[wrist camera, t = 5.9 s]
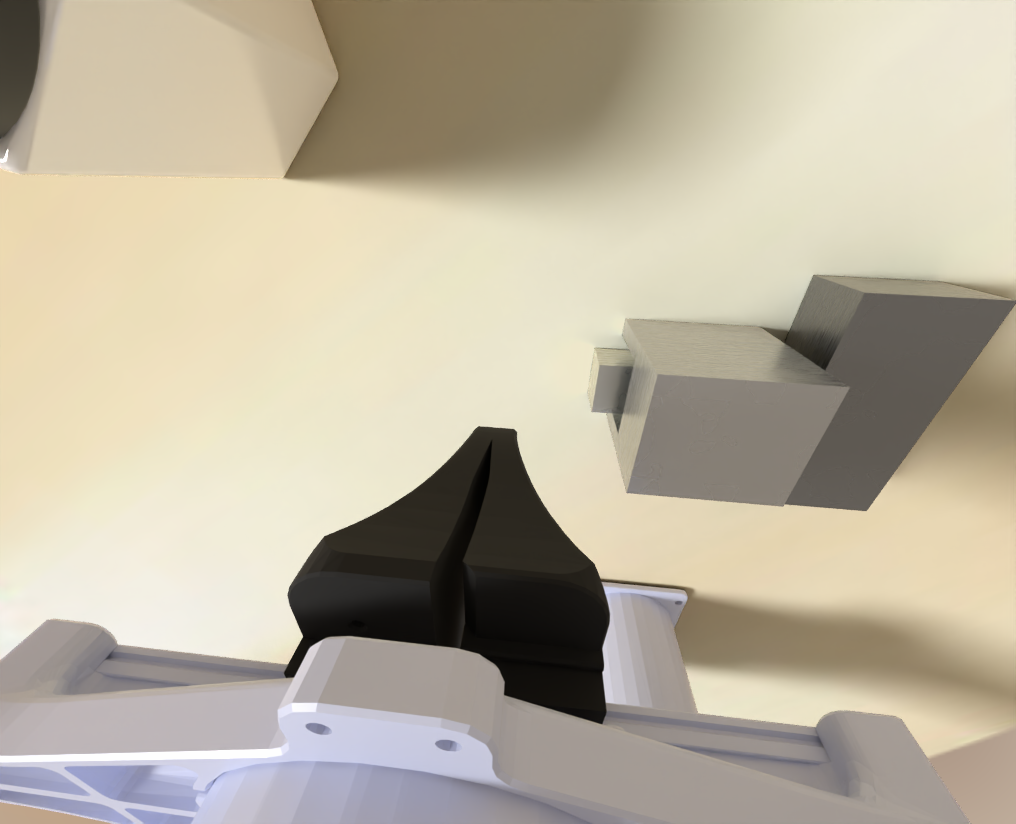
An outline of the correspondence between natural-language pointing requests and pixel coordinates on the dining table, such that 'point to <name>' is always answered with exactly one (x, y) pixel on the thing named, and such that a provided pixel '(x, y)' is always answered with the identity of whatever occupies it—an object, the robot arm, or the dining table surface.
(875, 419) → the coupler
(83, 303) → the dining table surface
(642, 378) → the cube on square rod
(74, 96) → the jar
